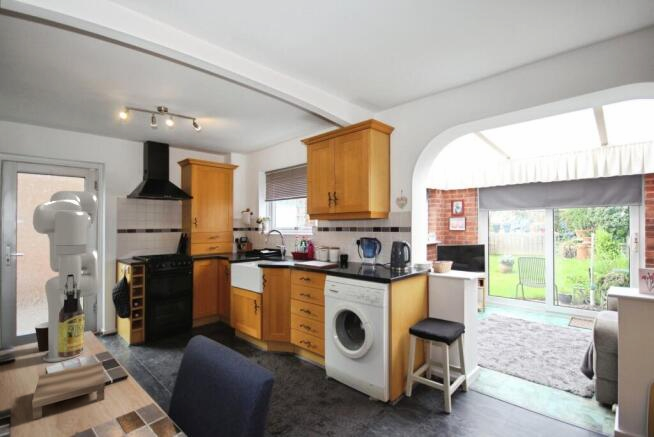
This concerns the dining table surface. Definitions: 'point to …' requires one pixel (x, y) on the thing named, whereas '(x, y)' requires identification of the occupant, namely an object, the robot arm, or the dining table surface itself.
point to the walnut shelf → (68, 385)
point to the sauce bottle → (71, 331)
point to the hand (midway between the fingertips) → (71, 309)
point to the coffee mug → (42, 337)
